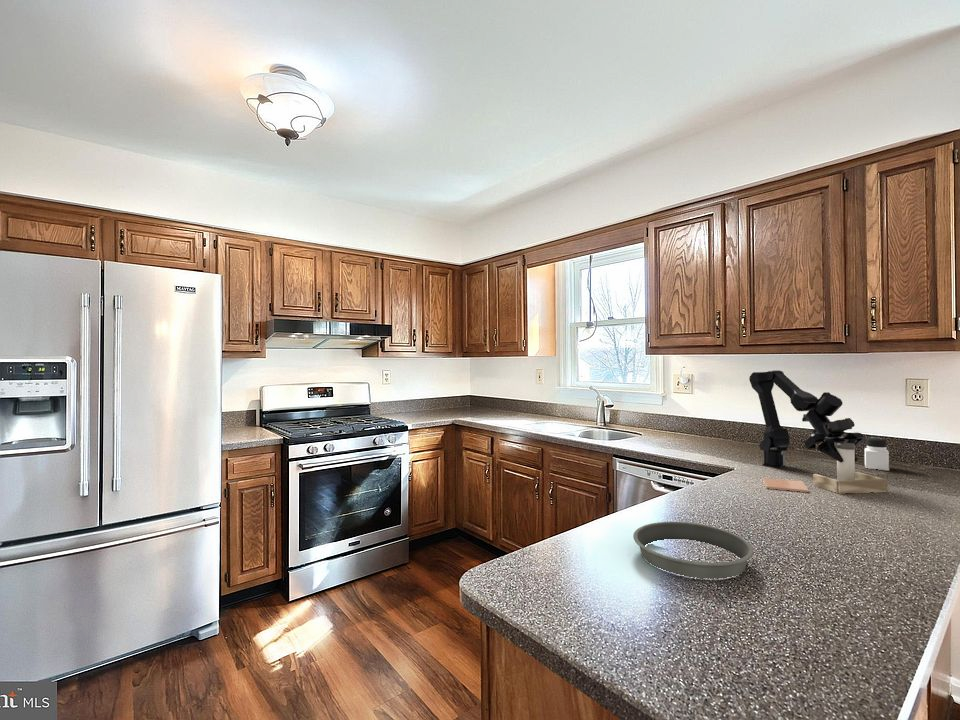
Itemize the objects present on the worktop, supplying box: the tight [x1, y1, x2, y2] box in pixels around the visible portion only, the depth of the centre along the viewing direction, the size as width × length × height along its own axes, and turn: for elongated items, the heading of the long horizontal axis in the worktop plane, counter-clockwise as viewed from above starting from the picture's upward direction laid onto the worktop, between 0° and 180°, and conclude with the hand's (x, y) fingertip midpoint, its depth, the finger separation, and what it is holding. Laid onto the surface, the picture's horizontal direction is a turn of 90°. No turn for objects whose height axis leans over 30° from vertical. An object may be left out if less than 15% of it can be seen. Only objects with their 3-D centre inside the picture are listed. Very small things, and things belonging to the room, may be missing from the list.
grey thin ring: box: [632, 521, 754, 579], centre depth 105 cm, size 25×25×4 cm
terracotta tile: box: [762, 477, 810, 493], centre depth 162 cm, size 12×12×1 cm
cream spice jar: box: [835, 442, 856, 481], centre depth 159 cm, size 5×5×13 cm
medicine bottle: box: [864, 436, 891, 472], centre depth 185 cm, size 7×7×12 cm
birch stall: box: [812, 471, 889, 495], centre depth 157 cm, size 11×17×4 cm, turn 96°
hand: (849, 461), depth 157 cm, fingers closed on cream spice jar, 5 cm apart
